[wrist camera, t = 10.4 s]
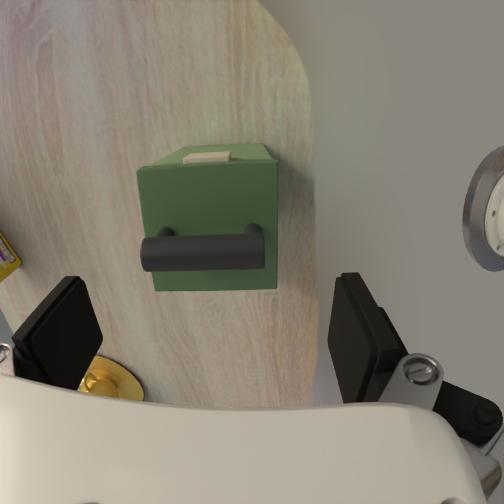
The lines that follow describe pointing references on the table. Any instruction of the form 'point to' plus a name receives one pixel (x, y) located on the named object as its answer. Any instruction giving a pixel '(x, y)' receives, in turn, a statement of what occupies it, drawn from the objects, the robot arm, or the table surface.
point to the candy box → (7, 259)
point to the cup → (110, 381)
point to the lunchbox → (211, 219)
